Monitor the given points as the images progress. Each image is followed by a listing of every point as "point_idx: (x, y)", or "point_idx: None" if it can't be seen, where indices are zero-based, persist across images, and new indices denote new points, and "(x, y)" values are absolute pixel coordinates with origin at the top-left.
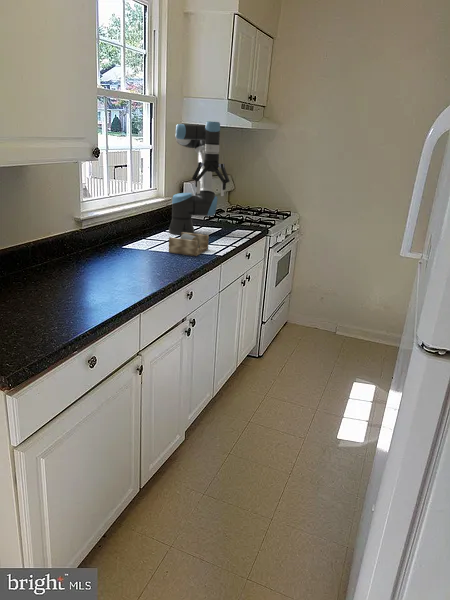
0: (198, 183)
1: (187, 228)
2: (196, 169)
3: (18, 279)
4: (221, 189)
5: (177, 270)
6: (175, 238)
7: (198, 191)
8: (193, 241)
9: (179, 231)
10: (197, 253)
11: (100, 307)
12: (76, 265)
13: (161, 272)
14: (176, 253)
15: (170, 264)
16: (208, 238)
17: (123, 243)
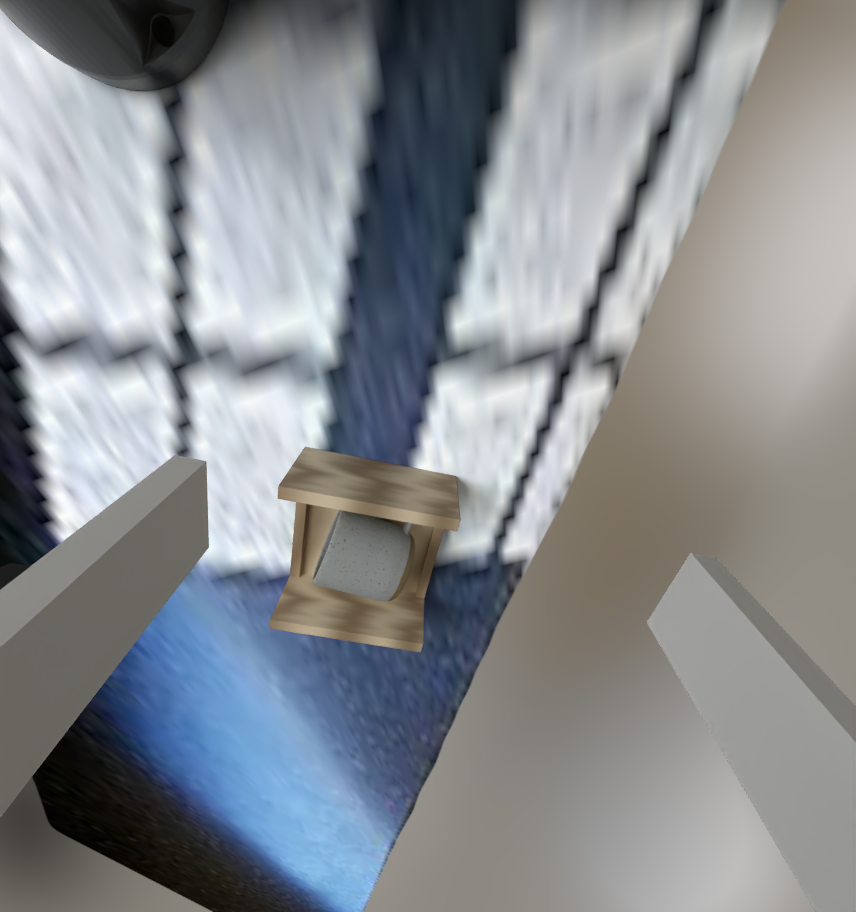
0: (30, 767)
1: (166, 6)
2: None
3: (89, 833)
4: (730, 750)
5: (399, 735)
6: (305, 631)
7: (182, 563)
8: (404, 646)
9: (127, 79)
10: (424, 593)
11: (331, 888)
12: (112, 752)
13: (361, 754)
14: None
15: (359, 696)
16: (459, 510)
17: (11, 485)
